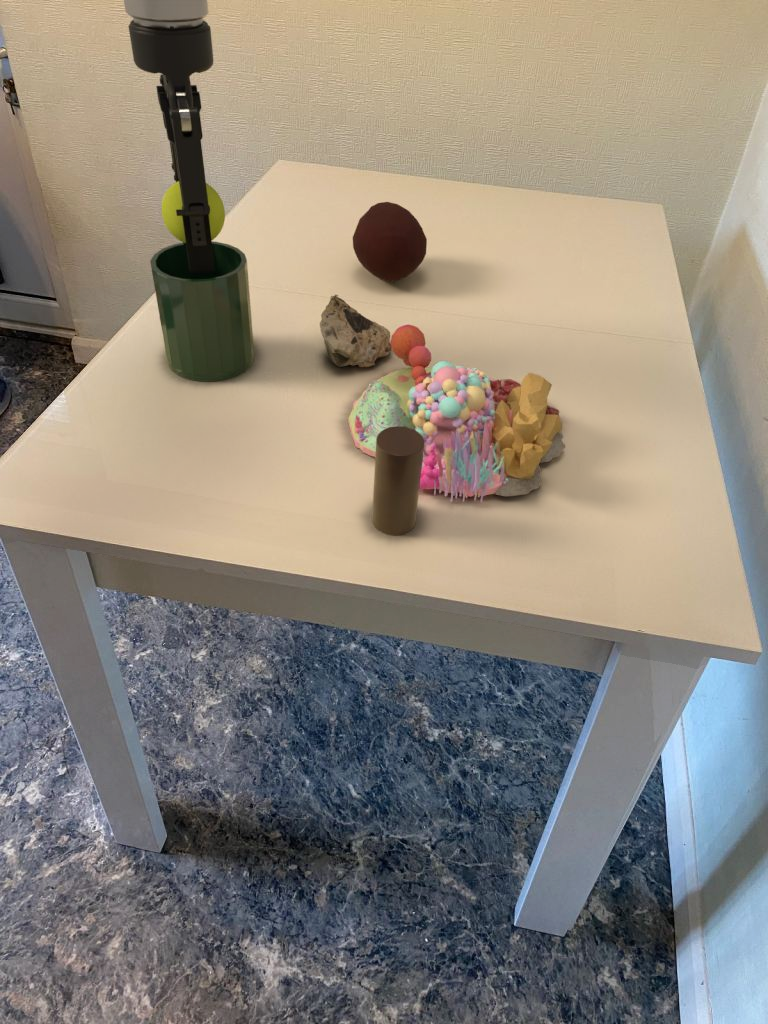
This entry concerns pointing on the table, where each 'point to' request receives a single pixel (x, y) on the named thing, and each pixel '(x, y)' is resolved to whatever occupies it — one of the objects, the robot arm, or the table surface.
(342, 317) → the rock
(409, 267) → the dark brown round lump
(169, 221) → the ball
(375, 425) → the candy landscape model
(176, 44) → the robot arm
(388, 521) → the post
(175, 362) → the tube
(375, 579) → the table surface
